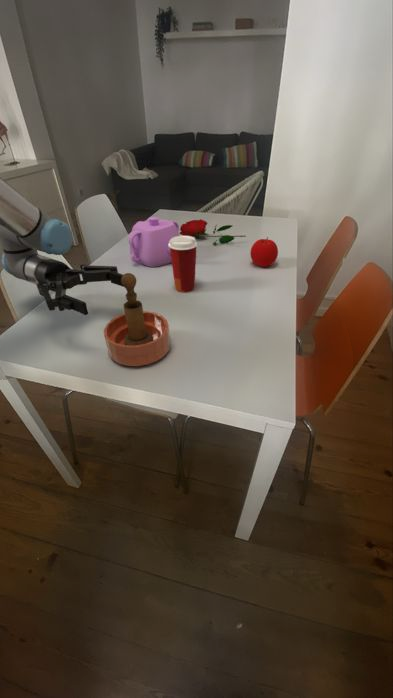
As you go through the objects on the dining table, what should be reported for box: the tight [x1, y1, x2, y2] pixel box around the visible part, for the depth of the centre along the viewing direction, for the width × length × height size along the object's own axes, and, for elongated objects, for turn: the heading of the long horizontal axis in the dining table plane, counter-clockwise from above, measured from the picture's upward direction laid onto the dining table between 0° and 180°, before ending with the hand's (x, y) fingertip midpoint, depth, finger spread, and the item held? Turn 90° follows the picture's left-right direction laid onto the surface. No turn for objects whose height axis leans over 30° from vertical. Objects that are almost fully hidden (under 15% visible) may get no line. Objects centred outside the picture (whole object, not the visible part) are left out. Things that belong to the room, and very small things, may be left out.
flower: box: [179, 218, 247, 246], centre depth 128 cm, size 9×10×30 cm
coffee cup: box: [168, 235, 198, 293], centre depth 94 cm, size 8×8×15 cm
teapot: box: [128, 216, 181, 268], centre depth 114 cm, size 19×21×14 cm
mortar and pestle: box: [121, 272, 153, 346], centre depth 69 cm, size 7×6×18 cm
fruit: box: [249, 236, 279, 268], centre depth 108 cm, size 9×9×10 cm
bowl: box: [103, 310, 171, 367], centre depth 73 cm, size 14×14×6 cm
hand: (109, 295), depth 70 cm, fingers open, 13 cm apart
